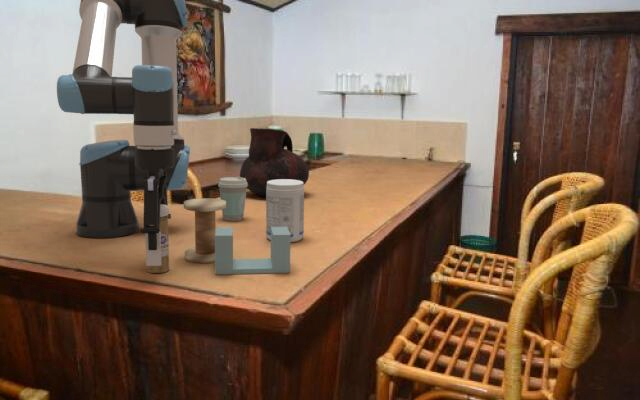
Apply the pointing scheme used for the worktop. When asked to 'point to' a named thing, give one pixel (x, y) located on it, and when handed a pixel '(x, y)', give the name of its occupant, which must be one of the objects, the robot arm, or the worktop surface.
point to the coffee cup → (233, 197)
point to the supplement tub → (285, 207)
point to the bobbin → (203, 228)
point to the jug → (271, 160)
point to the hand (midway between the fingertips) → (157, 257)
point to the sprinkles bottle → (162, 242)
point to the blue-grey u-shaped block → (252, 266)
